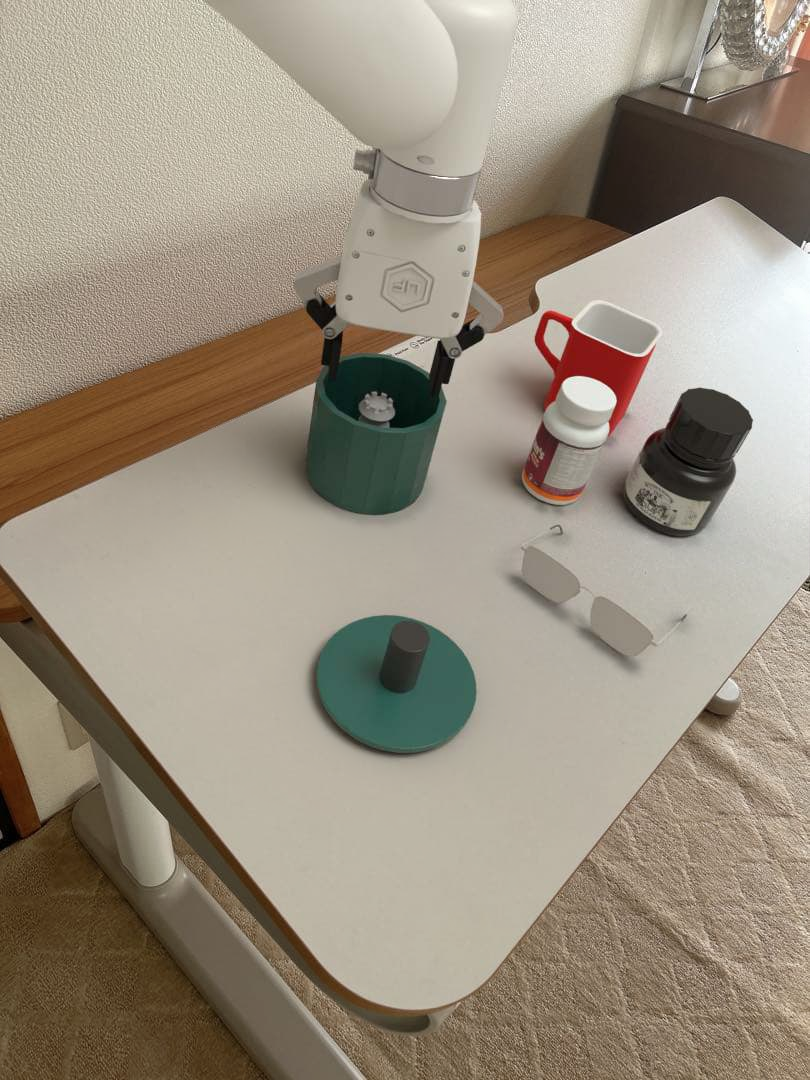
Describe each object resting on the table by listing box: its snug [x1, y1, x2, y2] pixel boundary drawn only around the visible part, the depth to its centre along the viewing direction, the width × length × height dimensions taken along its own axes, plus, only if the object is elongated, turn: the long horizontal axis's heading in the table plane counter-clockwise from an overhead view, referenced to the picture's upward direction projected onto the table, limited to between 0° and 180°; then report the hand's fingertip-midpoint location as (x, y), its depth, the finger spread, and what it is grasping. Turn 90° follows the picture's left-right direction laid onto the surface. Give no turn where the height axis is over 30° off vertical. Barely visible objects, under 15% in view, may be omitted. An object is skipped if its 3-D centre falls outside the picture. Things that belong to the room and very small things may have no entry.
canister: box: [304, 352, 447, 516], centre depth 80 cm, size 11×11×10 cm
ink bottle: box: [622, 387, 754, 537], centre depth 83 cm, size 10×9×12 cm
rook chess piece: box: [359, 392, 395, 428], centre depth 80 cm, size 4×4×8 cm
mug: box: [534, 299, 664, 438], centre depth 94 cm, size 12×8×11 cm
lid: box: [315, 614, 477, 754], centre depth 64 cm, size 12×12×6 cm
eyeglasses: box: [520, 524, 688, 658], centre depth 76 cm, size 14×8×4 cm, turn 48°
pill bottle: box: [521, 376, 617, 506], centre depth 83 cm, size 6×6×11 cm
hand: (383, 379), depth 75 cm, fingers open, 8 cm apart
